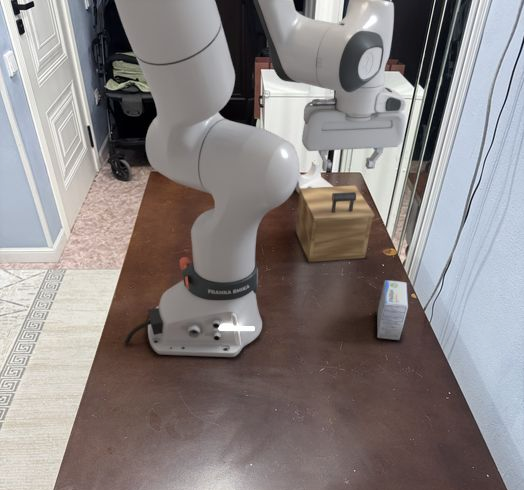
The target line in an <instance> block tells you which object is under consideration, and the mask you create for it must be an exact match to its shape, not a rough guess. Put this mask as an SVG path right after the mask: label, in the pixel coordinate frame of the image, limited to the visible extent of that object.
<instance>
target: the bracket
mask: <svg viewBox="0 0 524 490" xmlns="http://www.w3.org/2000/svg"><path fill="white" fill-rule="evenodd" d="M319 187H334V186H333V185H332V184H331V183H330V182H329V181H327V180H326V179H325V178H323V177H322V173H321V167H320V163H319V162H317V160H313V161H311V166H310V169H309V170H308V171H307V172H305V173H304V174H301V172H299V178H298V182H297V185H296V187H295V190H296V192H297V194H299V192H300V188H319Z"/></svg>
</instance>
